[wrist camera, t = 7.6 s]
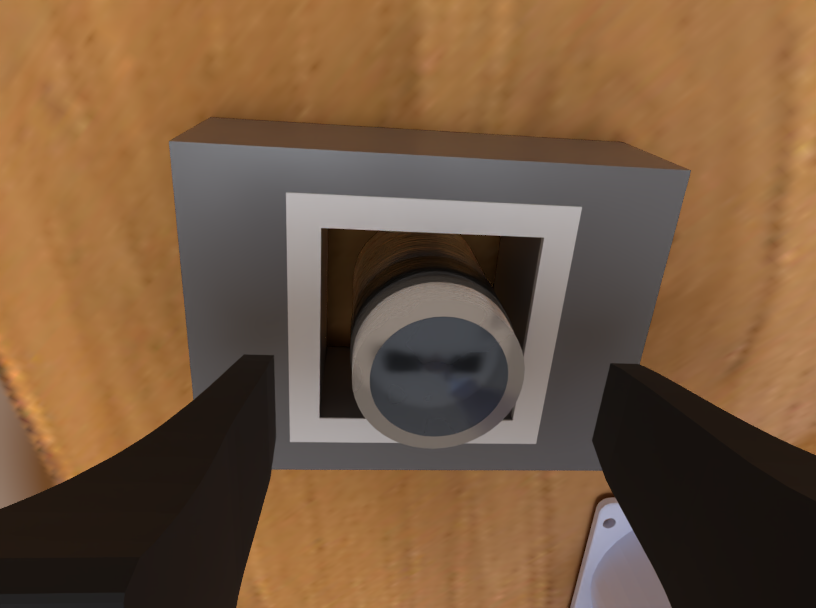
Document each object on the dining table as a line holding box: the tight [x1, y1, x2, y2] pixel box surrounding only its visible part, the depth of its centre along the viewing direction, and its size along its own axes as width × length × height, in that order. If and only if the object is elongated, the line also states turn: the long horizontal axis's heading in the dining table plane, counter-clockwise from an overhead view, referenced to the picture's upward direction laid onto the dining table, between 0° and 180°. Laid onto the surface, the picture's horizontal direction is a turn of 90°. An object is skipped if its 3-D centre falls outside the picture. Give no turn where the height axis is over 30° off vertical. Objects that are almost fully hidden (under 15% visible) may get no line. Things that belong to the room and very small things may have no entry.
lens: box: [350, 231, 525, 449], centre depth 16 cm, size 4×4×6 cm
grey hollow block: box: [169, 117, 691, 471], centre depth 17 cm, size 9×12×4 cm
